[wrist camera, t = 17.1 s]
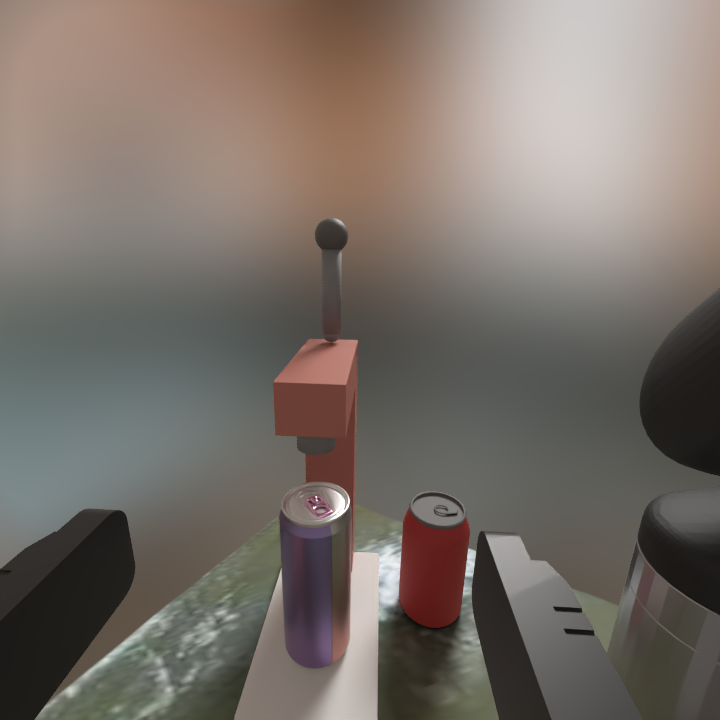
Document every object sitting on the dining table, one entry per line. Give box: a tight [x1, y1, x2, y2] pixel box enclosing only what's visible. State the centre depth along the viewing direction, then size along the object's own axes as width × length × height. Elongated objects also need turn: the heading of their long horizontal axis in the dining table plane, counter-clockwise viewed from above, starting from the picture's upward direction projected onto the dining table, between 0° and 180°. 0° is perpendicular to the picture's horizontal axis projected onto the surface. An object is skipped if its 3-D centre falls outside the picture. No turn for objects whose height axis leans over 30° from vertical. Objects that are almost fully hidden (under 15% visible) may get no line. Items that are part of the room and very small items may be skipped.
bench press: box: [234, 218, 379, 720], centre depth 33 cm, size 11×18×39 cm, turn 177°
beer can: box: [399, 491, 470, 628], centre depth 40 cm, size 7×7×12 cm
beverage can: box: [279, 482, 352, 669], centre depth 34 cm, size 6×6×15 cm
